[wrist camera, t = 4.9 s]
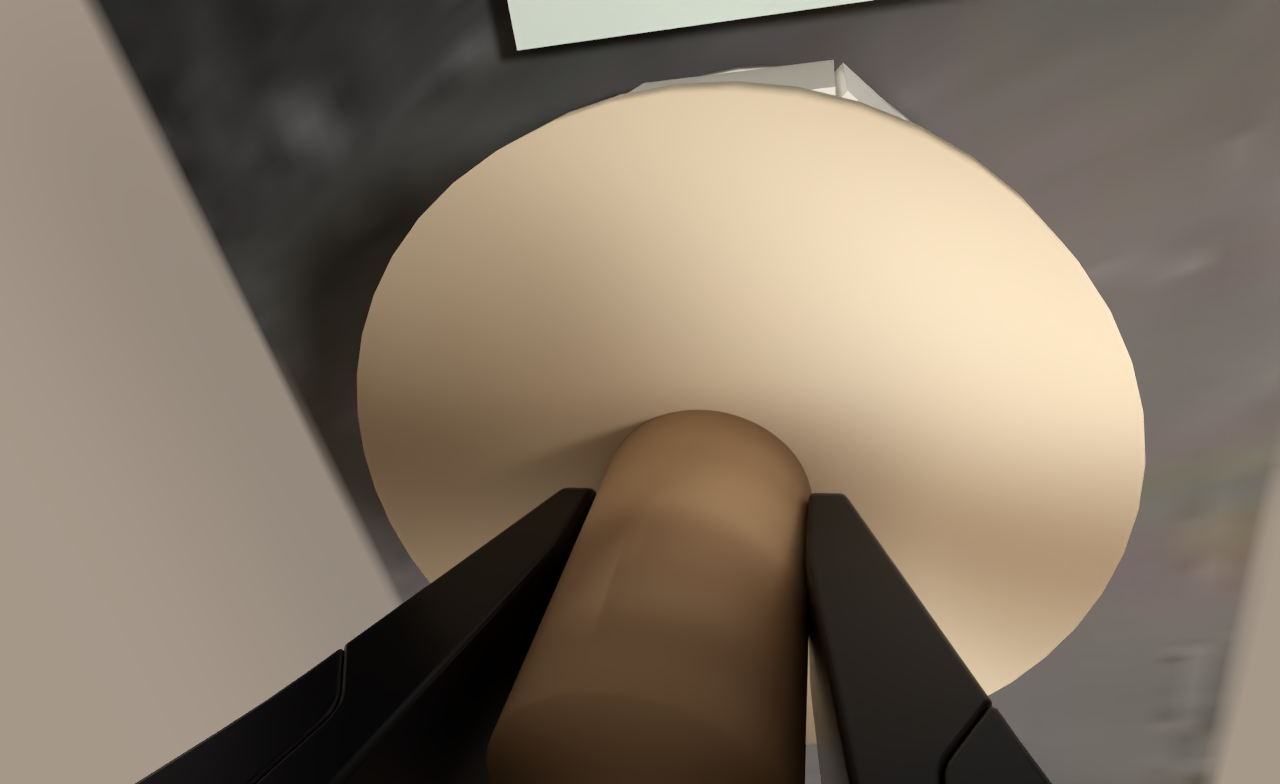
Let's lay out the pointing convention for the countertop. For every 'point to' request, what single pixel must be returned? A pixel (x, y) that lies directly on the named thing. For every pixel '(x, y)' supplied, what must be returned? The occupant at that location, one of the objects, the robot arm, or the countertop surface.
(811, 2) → the mat
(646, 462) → the lid
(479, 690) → the robot arm
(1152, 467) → the countertop surface
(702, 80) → the white octagonal pot
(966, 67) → the countertop surface
